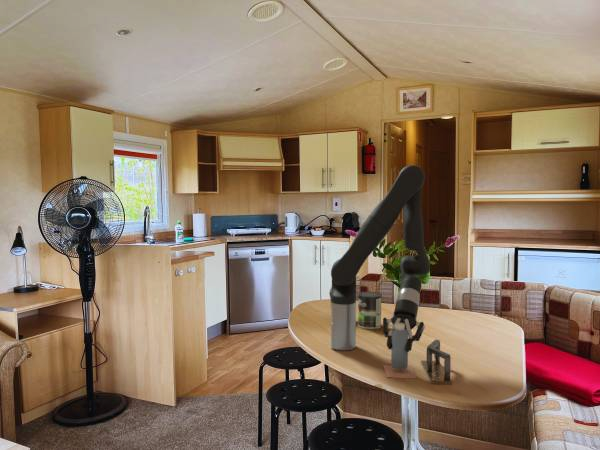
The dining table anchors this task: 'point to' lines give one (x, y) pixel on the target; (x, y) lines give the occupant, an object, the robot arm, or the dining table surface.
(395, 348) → the bottle
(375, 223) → the robot arm
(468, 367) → the dining table surface
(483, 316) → the dining table surface
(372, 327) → the coffee can
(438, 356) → the dark grey frame
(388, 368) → the mat
